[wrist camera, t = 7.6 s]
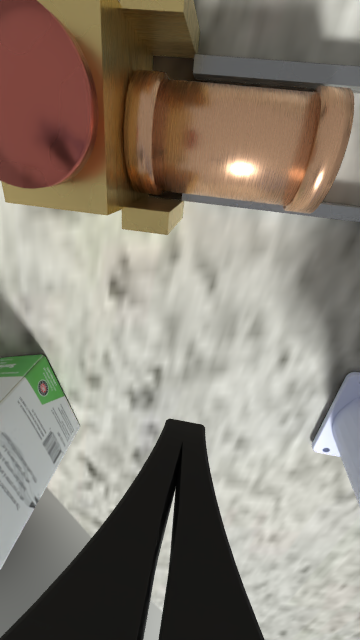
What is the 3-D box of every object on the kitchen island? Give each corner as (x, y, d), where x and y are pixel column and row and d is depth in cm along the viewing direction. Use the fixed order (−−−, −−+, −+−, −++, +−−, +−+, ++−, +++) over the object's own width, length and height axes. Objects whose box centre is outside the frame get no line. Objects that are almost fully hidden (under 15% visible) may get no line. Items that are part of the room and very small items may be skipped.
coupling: (335, 89, 12) (373, 86, 8) (299, 198, 15) (318, 228, 11) (150, 73, 13) (117, 64, 9) (150, 180, 15) (124, 203, 12)
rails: (463, 82, 11) (482, 75, 11) (397, 223, 14) (408, 227, 13) (196, 61, 12) (194, 54, 12) (184, 198, 15) (181, 200, 14)
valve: (200, 30, 12) (164, -134, 5) (182, 217, 16) (149, 256, 9) (2, 17, 13) (-241, -141, 6) (31, 198, 16) (-101, 221, 10)
